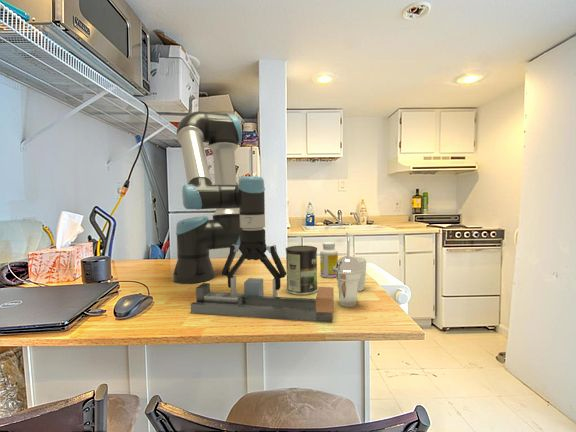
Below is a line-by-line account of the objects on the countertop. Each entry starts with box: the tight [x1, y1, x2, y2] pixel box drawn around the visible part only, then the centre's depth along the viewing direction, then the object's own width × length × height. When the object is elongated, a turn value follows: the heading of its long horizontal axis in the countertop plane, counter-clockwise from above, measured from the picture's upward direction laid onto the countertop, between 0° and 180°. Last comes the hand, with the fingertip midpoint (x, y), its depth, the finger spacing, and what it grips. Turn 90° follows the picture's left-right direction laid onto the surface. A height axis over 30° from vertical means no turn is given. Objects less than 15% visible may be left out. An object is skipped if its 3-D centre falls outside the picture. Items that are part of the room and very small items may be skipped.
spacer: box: [243, 277, 265, 296], centre depth 90 cm, size 5×5×6 cm
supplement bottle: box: [319, 241, 339, 279], centre depth 114 cm, size 7×7×13 cm
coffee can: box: [285, 245, 318, 296], centre depth 98 cm, size 10×10×14 cm
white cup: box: [352, 256, 367, 292], centre depth 99 cm, size 8×8×10 cm
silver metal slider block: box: [195, 282, 243, 305], centre depth 84 cm, size 12×4×6 cm, turn 79°
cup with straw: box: [333, 232, 363, 308], centre depth 85 cm, size 8×9×20 cm
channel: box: [190, 286, 335, 323], centre depth 81 cm, size 38×9×6 cm, turn 79°
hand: (254, 299), depth 90 cm, fingers open, 12 cm apart
